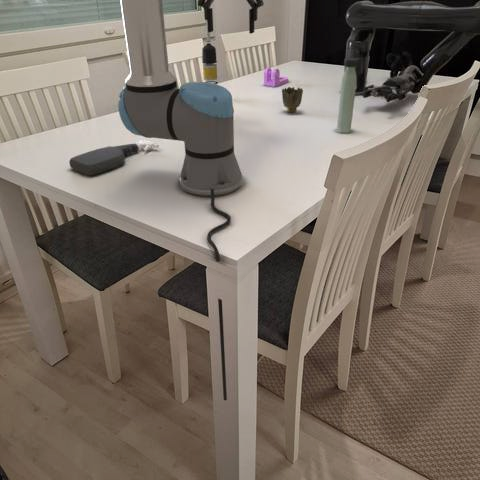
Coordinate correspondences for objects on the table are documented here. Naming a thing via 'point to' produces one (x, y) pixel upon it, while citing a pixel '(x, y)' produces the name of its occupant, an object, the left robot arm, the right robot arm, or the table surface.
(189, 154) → the left robot arm
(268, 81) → the bracket
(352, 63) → the cap
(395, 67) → the squiggle
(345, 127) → the bottle
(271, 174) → the table surface
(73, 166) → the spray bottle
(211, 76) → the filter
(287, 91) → the cup
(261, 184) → the table surface
